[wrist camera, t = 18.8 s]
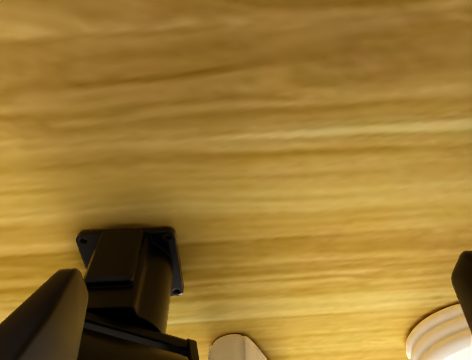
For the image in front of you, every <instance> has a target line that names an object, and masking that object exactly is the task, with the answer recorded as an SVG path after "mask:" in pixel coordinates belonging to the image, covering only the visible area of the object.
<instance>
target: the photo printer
mask: <svg viewBox="0 0 472 360" xmlns="http://www.w3.org/2000/svg"><path fill="white" fill-rule="evenodd" d="M208 360H267V358H266V357H265V356H264V355H263V353H262V352H261V351H260V349H259V348H258V347H257V346H256V345H255V344H254V343H253V342H252V341H251V340H250V339H249V338H248V337H247V336H242V335H240V334H230V335H226V336H223V337H220V338H218V339H217V340H216V341H215V342H214V344H213V345H212V346H210V348H209V355H208Z"/></svg>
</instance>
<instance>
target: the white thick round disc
mask: <svg viewBox="0 0 472 360" xmlns="http://www.w3.org/2000/svg"><path fill="white" fill-rule="evenodd" d="M406 354H407V356H408V358H409V359H410V360H472V334H471V331H470V329H469V326H468V324H467V321H466V318H465V316H464V313H463V311H462V308H461V305H460V304H456V305H453V306H449V307H447V308H444V309H442V310H440V311H437V312H435V313H433V314H432V315H430V316H428V317H427V318H425V319H424V320H422V321H421V322H420V323H419V324H418V325H417V326H416V327H415V328H414V329H413V330H412V332H411V333H410V334H409V336H408V338H407V341H406Z"/></svg>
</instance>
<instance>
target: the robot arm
mask: <svg viewBox="0 0 472 360" xmlns="http://www.w3.org/2000/svg"><path fill="white" fill-rule="evenodd" d="M165 234H168V235H170V236H166V235H165ZM83 238H85V239H87V240H85V239H83ZM76 243H77V245H78V248H79V251H80V253H81V256H82V259H83V261H84V264H85V267H86V269H87V270H86V273H85V276H84V278H83V277H82V275H81V272H80V271H79V270H78V269H76V268H72V269H61V270H59V271H57V272H56V273H55V274H54V275H53V276H52V277H51V278H49V279H48V280H47V281H46V282H45V283H44V284H43V285H42V286H41V287H40V288H39V289H37V290H36V291H35V292H34V293H33V294H32V295H31V296H30V297H29V298H28V299H27V300H26V301H24V302H23V303H22V304H21V305H20V306H19V307H18V308H17V309H16V310H15V311H14V312H13V313H11V314H10V315H9V316H8V317H7V318H6V319H5V320H4V321H3V322H2V323H1V324H0V360H199V355H198V349H197V342H196V341H194V340H191V339H187V340H185V339H182V338H178V337H175V336H172V335H168V334H166V326H167V319H168V311H169V303H170V296H178V295H181V294H183V291H184V284H183V278H182V272H181V266H180V260H179V254H178V248H177V241H176V235H175V231H174V230H173V229H171V228H167V227H166V228H144V229H122V230H100V231H82V232H80V233H79V234H78V236H77V238H76ZM451 280H452V285H453V287H454V290H455V293H456V295H457V298H458V300H459V303H460V305H461V308H462V311H463V313H464V316H465V318H466V321H467V324H468V326H469V329H470V331H471V334H472V251H464V252H462V253H461V254H460V256H459V259H458V261H457V263H456V265H455V268H454V270H453V272H452V277H451Z"/></svg>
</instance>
